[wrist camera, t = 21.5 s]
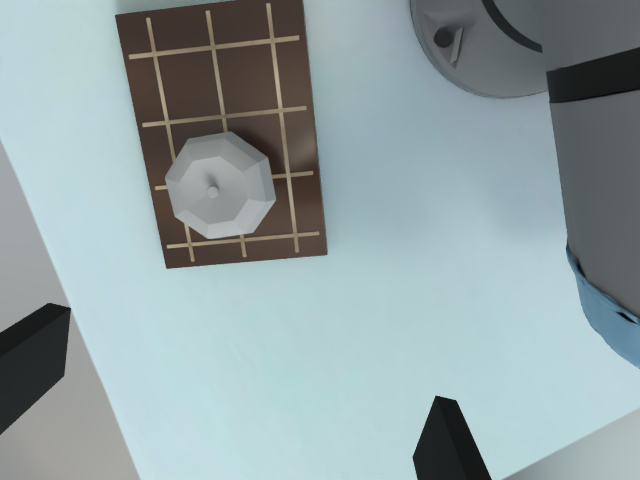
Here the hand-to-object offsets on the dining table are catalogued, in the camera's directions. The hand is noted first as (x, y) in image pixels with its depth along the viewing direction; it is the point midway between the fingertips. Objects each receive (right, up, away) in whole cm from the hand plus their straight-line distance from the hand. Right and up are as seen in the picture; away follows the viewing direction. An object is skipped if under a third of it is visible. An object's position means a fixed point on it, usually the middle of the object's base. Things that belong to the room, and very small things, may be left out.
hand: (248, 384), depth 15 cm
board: (-5, +13, +20) cm, 24 cm away
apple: (-4, +10, +19) cm, 22 cm away
